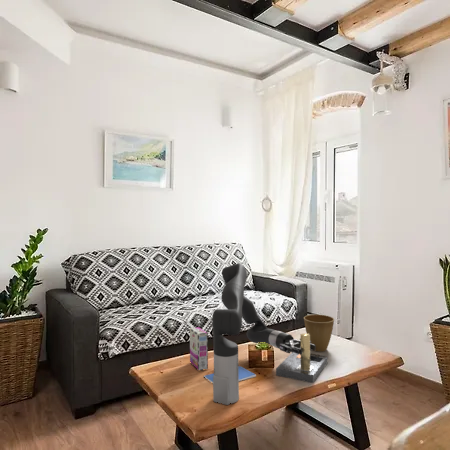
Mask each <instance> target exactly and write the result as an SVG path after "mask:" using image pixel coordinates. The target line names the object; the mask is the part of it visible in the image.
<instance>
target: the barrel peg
mask: <svg viewBox="0 0 450 450" xmlns="http://www.w3.org/2000/svg"><path fill="white" fill-rule="evenodd" d="M299 337H300V338H299V340H300V348H301V349H302V354H301V368H302V369H310V354H311V349H310V334H307V333H300V336H299Z"/></svg>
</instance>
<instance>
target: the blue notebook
mask: <svg viewBox="0 0 450 450" xmlns="http://www.w3.org/2000/svg"><path fill="white" fill-rule="evenodd" d="M238 370H239V382H241V381H242V380H243V381H245V380H249V379H252V378H256V377H257V374H255V373H254V372H252V371H249V370H248V369H246V368H244V367H243V366H240V365H238ZM213 376H214V372H213V373H209V374H205V375H203V378H204V377H205V378H206V379H208V380H209V381H210V383H211V382H212V383H213ZM205 378H204V379H205ZM206 379H205V380H206ZM208 380H207V381H208ZM209 381H208V382H209ZM212 383H211V384H212Z"/></svg>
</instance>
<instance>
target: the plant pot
mask: <svg viewBox="0 0 450 450" xmlns="http://www.w3.org/2000/svg"><path fill="white" fill-rule="evenodd" d="M303 321H304V327H305V328H304V329H305V331H306V334H310V341H311V344H314V345H315V346H316V350H313V351H314V352H320V353H321V352H326V351H327V350H328V346H329V344H330V341H331V338H332V334H333V329H334V324H335V323H334V322H335V319H334V317H332V316H329V315H326V314H315V313H314V314H308V315H305V316H304V317H303Z"/></svg>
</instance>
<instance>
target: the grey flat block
mask: <svg viewBox="0 0 450 450" xmlns="http://www.w3.org/2000/svg"><path fill="white" fill-rule="evenodd" d="M327 364H328V356H327V355H322V354H317V353H310V369H302V368H301V355H300V354H297V353H292V352H290V353H289V355H288V356H287V357H286V358H285V359H284V360H283V361H282V362H280V364H279V365H278V366H277V367H275V376H277V377H283V378H287V379H292V380H296V381H297V380H298V381H303V382H308V383H312V384H313V383H314V382H315V381H316V380H317V378H318V377H319V375H320V374H321V373H322V371H324V368H325V367H326V365H327Z"/></svg>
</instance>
